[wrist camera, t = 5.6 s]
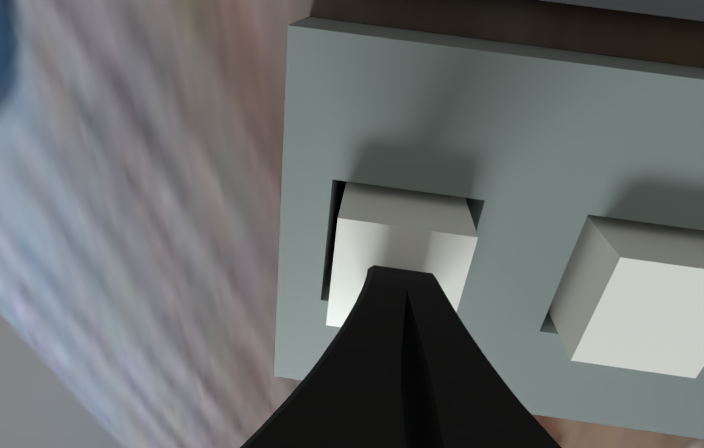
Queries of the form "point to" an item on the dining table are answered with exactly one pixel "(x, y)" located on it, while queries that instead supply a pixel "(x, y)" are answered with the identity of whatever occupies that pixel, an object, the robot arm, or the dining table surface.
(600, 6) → the pattern card
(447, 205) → the button outer
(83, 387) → the dining table surface
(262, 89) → the dining table surface
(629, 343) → the button middle
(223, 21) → the dining table surface
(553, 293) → the button board
